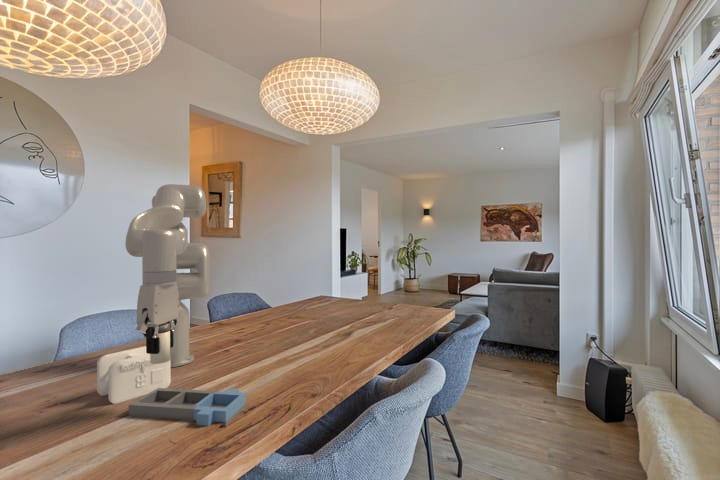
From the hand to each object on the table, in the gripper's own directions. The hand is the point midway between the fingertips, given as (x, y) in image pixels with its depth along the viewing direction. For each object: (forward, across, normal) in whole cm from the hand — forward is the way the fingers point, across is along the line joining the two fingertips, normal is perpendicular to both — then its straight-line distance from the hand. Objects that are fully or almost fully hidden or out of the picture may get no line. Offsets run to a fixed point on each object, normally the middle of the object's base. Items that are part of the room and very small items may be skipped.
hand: (160, 349), depth 89 cm
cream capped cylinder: (+3, 0, 0) cm, 3 cm away
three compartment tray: (+15, +1, +8) cm, 17 cm away
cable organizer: (+16, -7, -14) cm, 22 cm away
